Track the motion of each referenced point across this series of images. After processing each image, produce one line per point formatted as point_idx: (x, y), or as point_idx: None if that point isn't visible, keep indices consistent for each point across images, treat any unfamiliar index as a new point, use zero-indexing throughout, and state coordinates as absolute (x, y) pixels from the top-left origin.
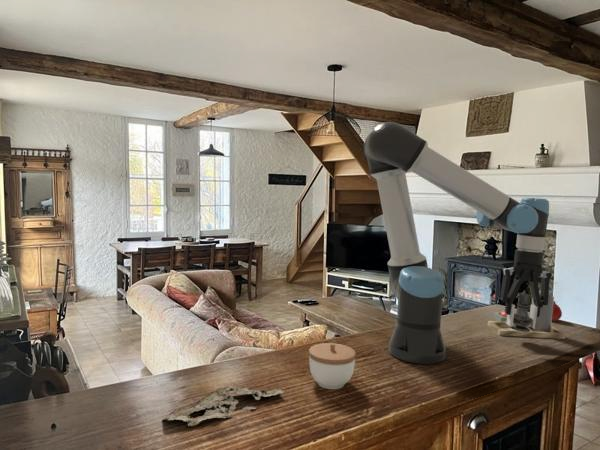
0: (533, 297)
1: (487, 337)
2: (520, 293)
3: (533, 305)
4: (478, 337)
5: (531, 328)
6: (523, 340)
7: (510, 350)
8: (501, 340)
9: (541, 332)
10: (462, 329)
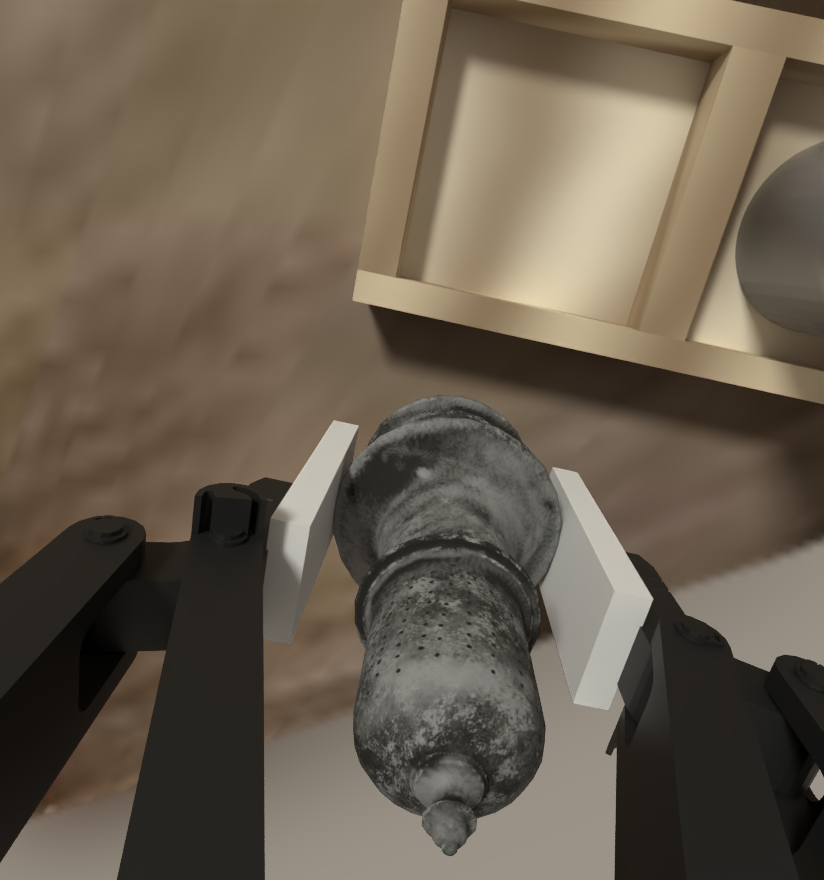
0: (652, 723)
1: (276, 268)
2: (380, 735)
3: (618, 633)
4: (198, 264)
5: (756, 233)
6: (549, 356)
7: None
8: (357, 345)
9: (739, 379)
10: (138, 21)
